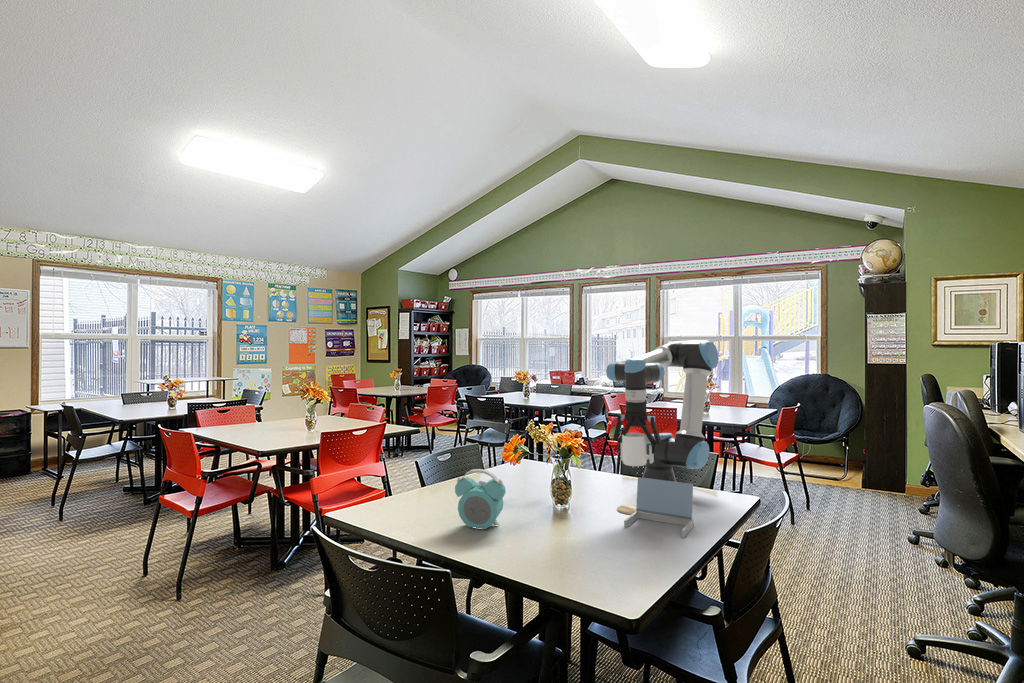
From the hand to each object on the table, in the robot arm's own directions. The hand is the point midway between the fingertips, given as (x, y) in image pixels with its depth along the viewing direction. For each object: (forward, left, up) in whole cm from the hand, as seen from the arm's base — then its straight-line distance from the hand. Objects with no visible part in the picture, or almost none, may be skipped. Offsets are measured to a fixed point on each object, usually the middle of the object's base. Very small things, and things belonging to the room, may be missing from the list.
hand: (637, 461), depth 201 cm
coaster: (-2, -3, -19) cm, 19 cm away
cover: (+5, +11, -11) cm, 16 cm away
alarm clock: (+42, -41, -19) cm, 62 cm away
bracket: (+11, +11, -19) cm, 25 cm away
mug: (0, +1, -1) cm, 1 cm away
